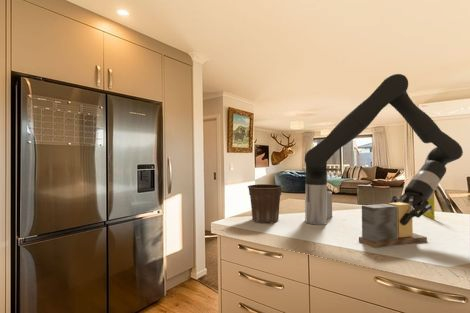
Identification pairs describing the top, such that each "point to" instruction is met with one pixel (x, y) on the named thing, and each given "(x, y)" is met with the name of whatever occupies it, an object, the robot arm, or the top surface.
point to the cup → (329, 204)
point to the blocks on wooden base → (383, 227)
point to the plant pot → (265, 202)
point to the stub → (402, 209)
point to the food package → (431, 211)
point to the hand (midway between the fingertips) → (396, 221)
